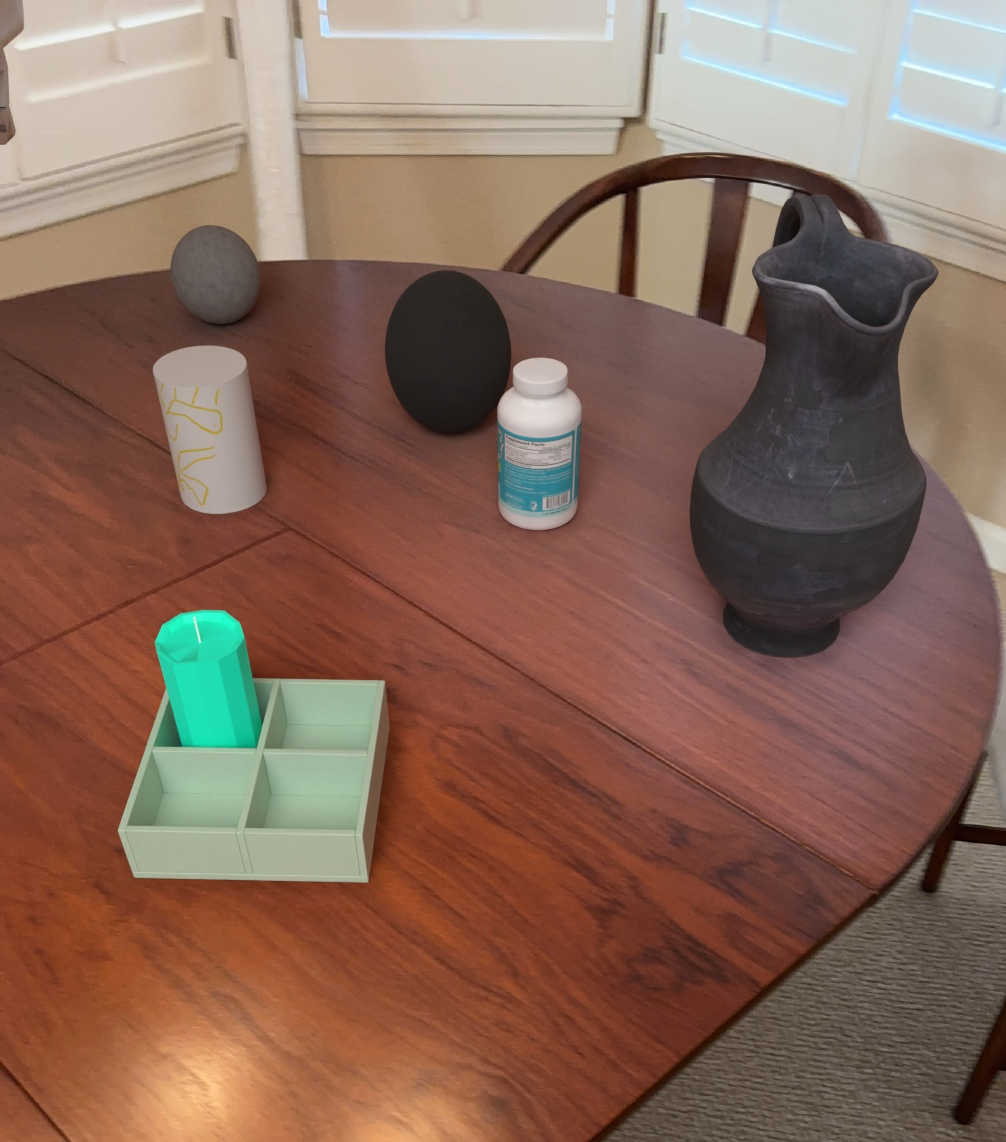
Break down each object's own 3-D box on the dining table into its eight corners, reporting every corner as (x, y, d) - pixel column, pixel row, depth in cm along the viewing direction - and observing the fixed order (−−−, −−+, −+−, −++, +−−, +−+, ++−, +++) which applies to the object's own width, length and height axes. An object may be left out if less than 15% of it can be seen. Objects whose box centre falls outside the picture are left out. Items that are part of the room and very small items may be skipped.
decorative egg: (520, 404, 124) (522, 252, 113) (499, 463, 116) (499, 305, 105) (405, 394, 126) (396, 243, 115) (377, 452, 118) (364, 295, 106)
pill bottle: (522, 484, 114) (524, 342, 104) (590, 504, 111) (599, 361, 101) (482, 520, 109) (481, 376, 99) (553, 542, 107) (558, 397, 97)
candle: (216, 718, 89) (184, 582, 80) (283, 741, 88) (258, 604, 79) (168, 766, 86) (129, 629, 77) (236, 791, 84) (204, 654, 75)
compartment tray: (133, 878, 80) (117, 830, 76) (182, 724, 90) (169, 676, 87) (368, 883, 79) (362, 835, 76) (389, 728, 90) (385, 680, 86)
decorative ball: (284, 319, 138) (271, 227, 131) (215, 347, 133) (198, 252, 126) (231, 295, 143) (216, 204, 135) (163, 321, 138) (143, 228, 130)
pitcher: (705, 698, 92) (770, 299, 70) (643, 552, 106) (681, 179, 84) (916, 676, 94) (1045, 281, 72) (828, 535, 108) (914, 166, 85)
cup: (162, 496, 112) (133, 370, 103) (222, 460, 117) (199, 337, 108) (225, 523, 109) (200, 396, 100) (284, 485, 113) (265, 360, 104)
